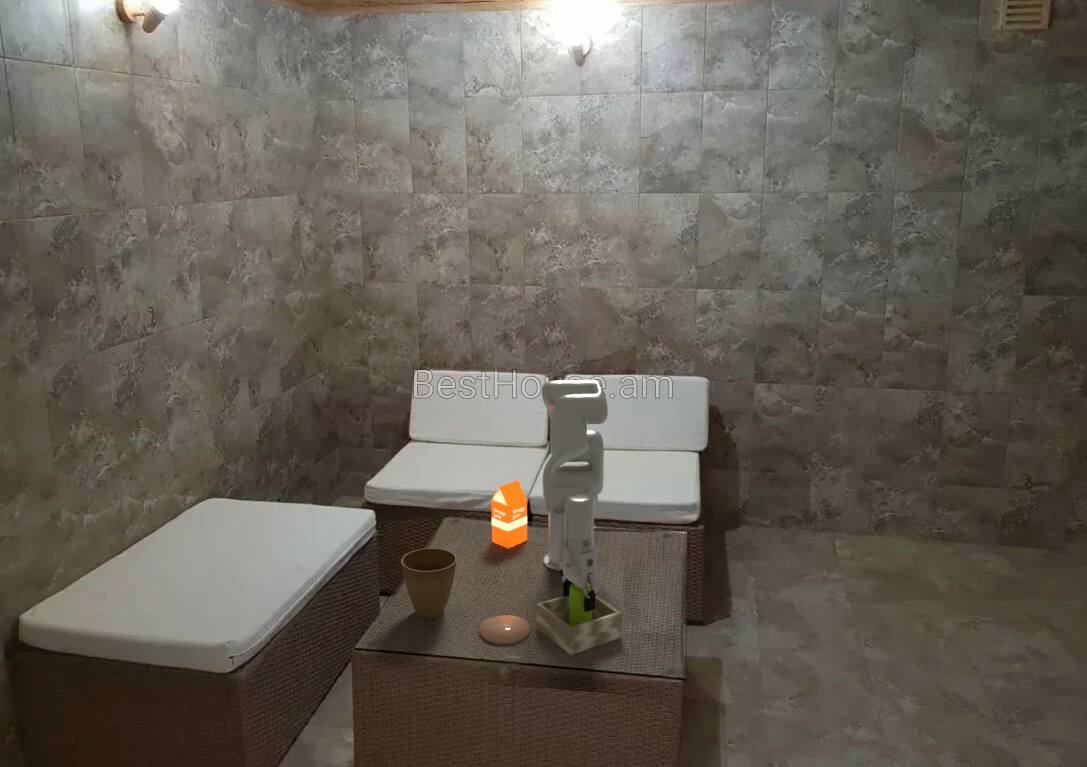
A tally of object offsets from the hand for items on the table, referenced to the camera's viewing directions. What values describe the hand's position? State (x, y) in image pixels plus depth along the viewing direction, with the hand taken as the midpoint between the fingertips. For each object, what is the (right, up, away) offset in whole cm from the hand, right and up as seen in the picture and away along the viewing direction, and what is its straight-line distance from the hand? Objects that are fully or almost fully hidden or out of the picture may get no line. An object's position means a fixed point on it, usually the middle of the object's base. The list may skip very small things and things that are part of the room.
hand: (578, 602), depth 236 cm
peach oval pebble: (-19, -8, +3) cm, 21 cm away
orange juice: (-20, +6, +59) cm, 62 cm away
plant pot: (-40, -6, +13) cm, 43 cm away
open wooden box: (0, -8, +2) cm, 9 cm away
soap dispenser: (0, -9, +2) cm, 9 cm away
